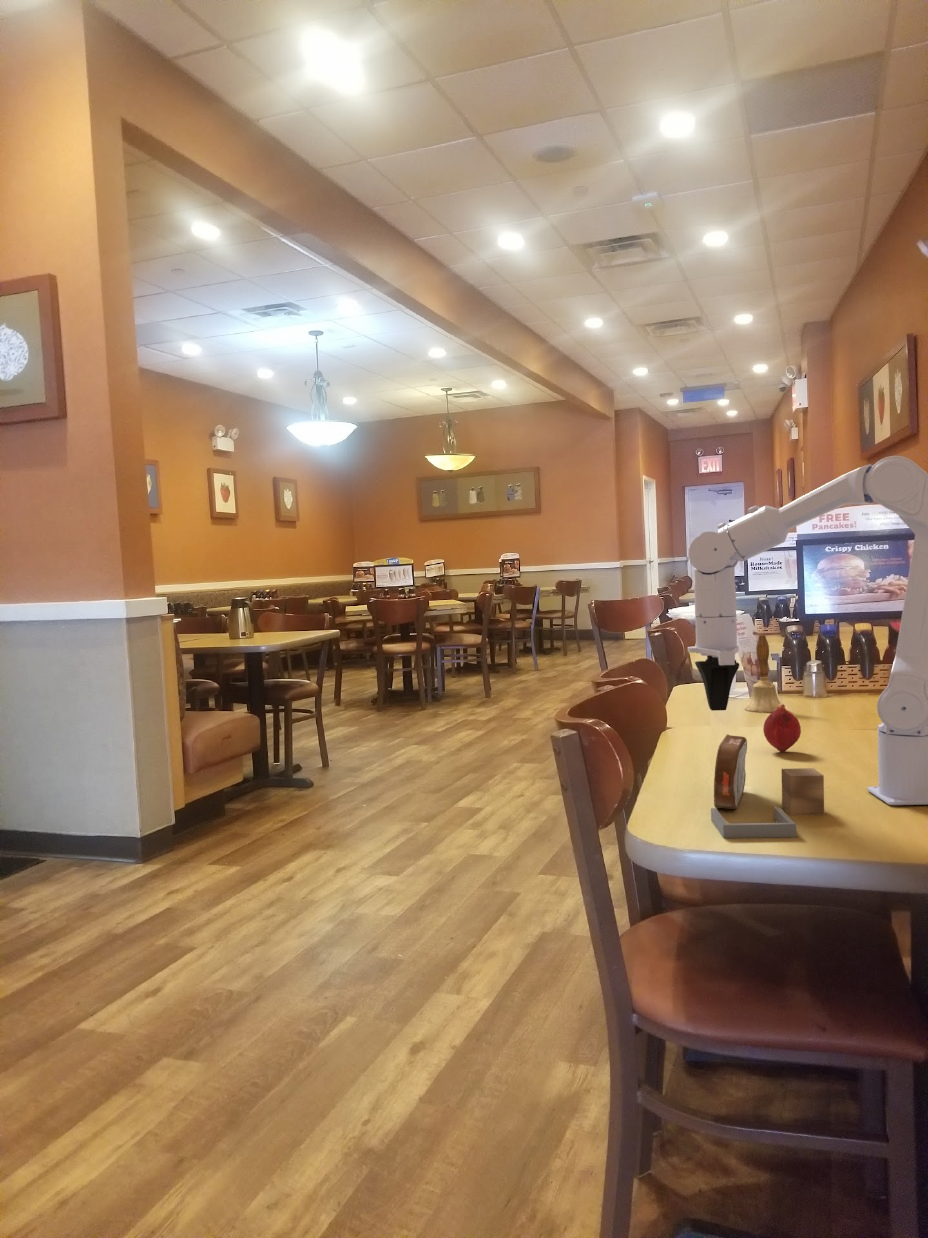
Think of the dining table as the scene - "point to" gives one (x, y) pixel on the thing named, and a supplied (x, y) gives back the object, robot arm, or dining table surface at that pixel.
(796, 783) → the walnut block
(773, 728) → the onion
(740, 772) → the tin
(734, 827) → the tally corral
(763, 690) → the hand bell
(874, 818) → the dining table surface
